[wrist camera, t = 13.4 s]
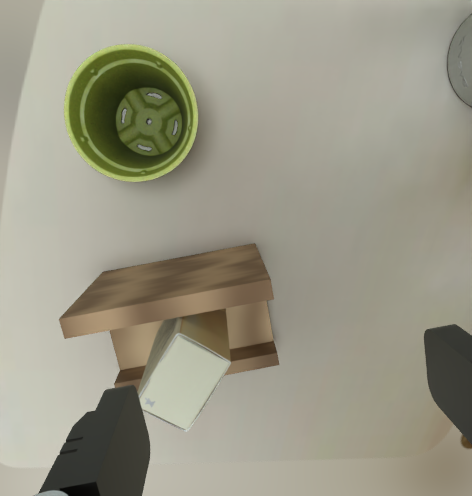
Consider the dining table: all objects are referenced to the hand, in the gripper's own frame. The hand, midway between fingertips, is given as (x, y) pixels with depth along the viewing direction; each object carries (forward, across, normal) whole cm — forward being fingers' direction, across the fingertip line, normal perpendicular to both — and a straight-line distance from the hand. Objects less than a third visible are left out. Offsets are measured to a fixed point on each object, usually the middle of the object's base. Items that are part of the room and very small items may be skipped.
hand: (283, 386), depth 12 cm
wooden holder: (+30, +6, +8) cm, 32 cm away
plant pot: (+30, +6, -10) cm, 32 cm away
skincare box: (+28, +6, +8) cm, 30 cm away
